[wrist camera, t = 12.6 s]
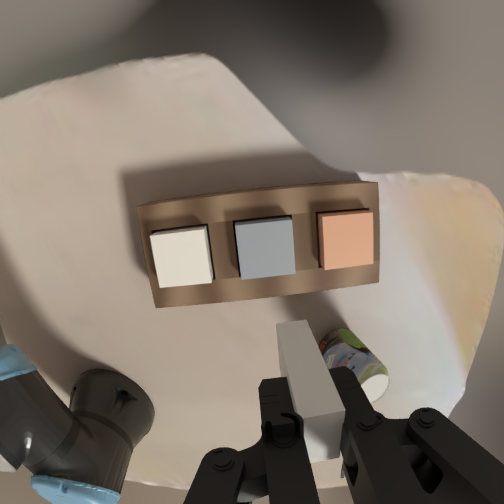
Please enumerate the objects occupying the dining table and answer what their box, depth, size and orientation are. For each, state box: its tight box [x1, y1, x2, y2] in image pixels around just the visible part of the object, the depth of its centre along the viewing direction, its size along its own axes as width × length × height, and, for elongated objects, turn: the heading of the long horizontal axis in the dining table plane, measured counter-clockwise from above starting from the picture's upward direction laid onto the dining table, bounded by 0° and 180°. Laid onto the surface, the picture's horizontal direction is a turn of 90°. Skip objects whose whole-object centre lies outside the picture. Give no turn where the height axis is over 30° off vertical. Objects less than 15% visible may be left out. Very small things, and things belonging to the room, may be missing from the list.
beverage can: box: [319, 329, 390, 404], centre depth 37 cm, size 6×7×12 cm
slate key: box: [235, 215, 296, 280], centre depth 34 cm, size 6×6×4 cm
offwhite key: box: [150, 223, 214, 288], centre depth 34 cm, size 6×6×4 cm
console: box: [137, 181, 380, 308], centre depth 36 cm, size 27×12×5 cm, turn 96°
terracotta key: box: [315, 208, 373, 270], centre depth 34 cm, size 6×6×4 cm
